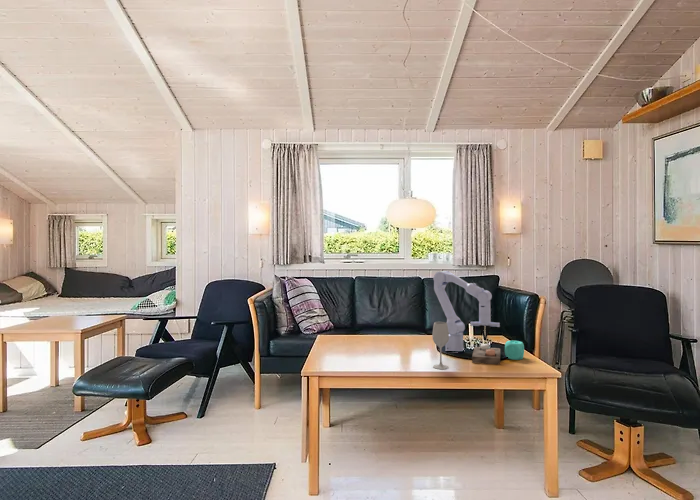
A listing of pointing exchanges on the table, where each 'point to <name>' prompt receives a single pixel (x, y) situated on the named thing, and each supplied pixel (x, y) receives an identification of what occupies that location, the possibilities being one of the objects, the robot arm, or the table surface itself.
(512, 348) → the decorative dice
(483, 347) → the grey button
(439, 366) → the wineglass
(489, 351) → the terracotta button
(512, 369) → the table surface
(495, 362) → the button panel
